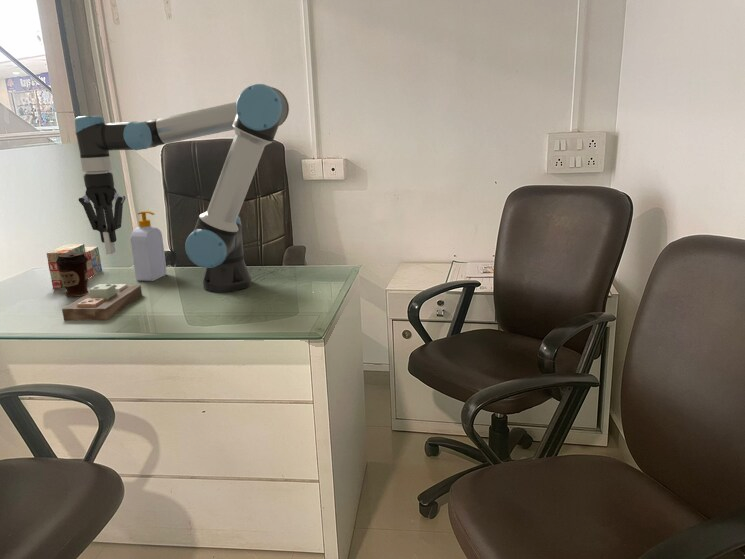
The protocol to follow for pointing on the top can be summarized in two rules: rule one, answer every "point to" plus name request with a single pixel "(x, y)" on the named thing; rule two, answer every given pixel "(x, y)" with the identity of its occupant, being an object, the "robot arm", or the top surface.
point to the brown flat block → (102, 305)
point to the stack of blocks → (89, 252)
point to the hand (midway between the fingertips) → (111, 253)
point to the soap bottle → (148, 251)
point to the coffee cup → (73, 273)
